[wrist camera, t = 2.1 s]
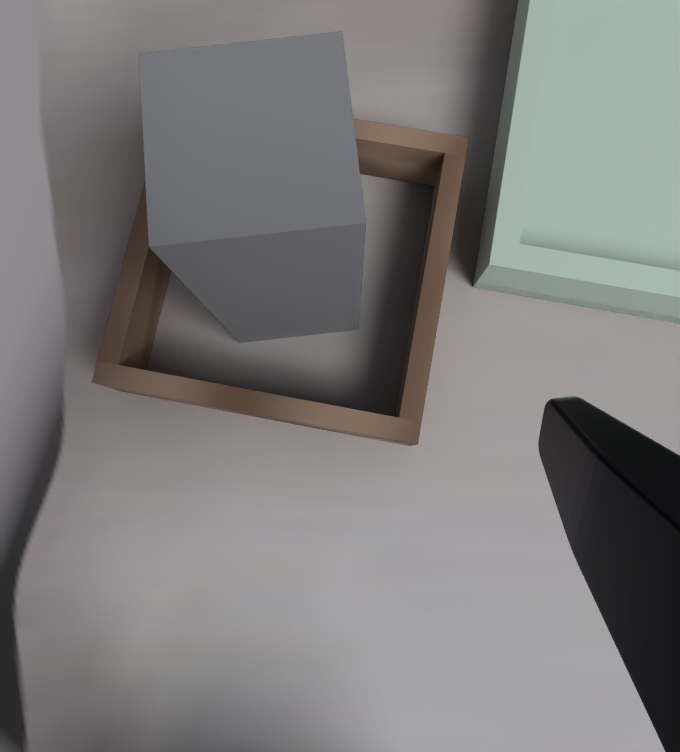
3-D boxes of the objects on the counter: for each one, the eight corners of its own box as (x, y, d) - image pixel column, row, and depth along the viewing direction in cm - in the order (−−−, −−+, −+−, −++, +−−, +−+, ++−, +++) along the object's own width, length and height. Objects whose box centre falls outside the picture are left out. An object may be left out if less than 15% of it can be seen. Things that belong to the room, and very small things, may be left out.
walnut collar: (456, 172, 23) (468, 137, 20) (409, 445, 21) (417, 444, 19) (188, 128, 23) (169, 89, 21) (120, 391, 22) (92, 382, 19)
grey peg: (345, 217, 23) (342, 31, 13) (358, 329, 22) (365, 223, 12) (230, 230, 23) (138, 53, 13) (239, 342, 22) (149, 247, 12)
